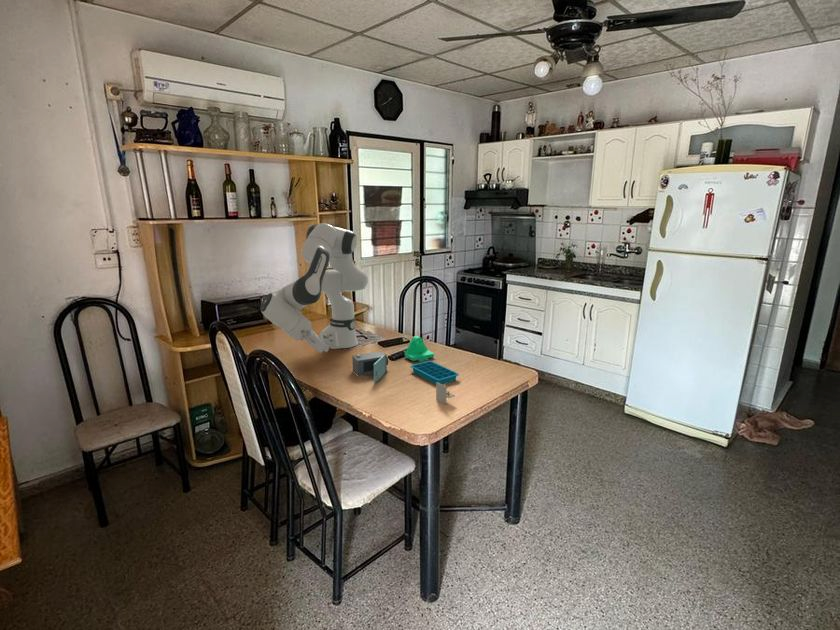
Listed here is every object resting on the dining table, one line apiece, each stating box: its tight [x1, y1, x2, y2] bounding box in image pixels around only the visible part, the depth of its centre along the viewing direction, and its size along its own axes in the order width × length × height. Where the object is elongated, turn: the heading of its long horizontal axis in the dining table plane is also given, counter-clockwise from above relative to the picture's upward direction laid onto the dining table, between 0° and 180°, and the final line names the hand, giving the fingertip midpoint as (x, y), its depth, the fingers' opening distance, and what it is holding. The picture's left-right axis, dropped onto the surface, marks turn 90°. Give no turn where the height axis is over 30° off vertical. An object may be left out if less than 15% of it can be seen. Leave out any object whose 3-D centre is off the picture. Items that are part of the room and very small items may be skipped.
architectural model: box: [435, 382, 456, 406], centre depth 161 cm, size 3×7×7 cm, turn 37°
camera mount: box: [404, 335, 435, 362], centre depth 206 cm, size 12×8×10 cm, turn 121°
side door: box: [373, 353, 387, 384], centre depth 182 cm, size 13×1×8 cm, turn 165°
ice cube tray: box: [410, 360, 460, 385], centre depth 186 cm, size 12×20×3 cm, turn 36°
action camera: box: [351, 351, 389, 377], centre depth 190 cm, size 15×7×8 cm, turn 117°
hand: (327, 349), depth 167 cm, fingers closed
